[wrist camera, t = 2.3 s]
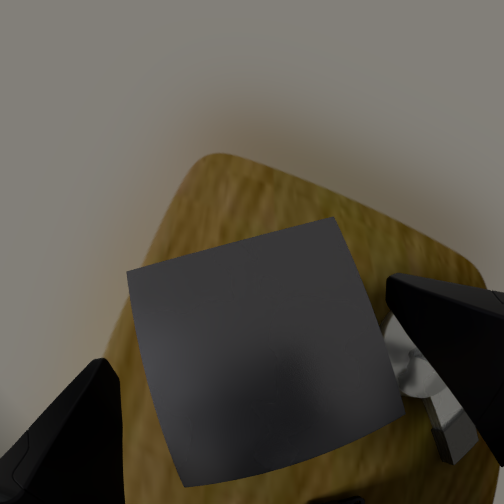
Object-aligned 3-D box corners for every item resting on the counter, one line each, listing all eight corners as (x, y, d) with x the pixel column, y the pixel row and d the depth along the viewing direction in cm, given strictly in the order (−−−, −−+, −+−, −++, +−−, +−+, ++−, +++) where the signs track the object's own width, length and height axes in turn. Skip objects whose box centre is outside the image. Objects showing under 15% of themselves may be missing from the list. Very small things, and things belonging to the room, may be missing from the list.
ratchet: (357, 330, 16) (382, 321, 13) (426, 284, 17) (455, 267, 14) (422, 477, 12) (449, 490, 8) (481, 421, 13) (510, 423, 10)
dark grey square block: (308, 386, 15) (405, 414, 5) (224, 412, 14) (184, 487, 4) (282, 307, 17) (333, 216, 7) (200, 330, 16) (126, 271, 6)
